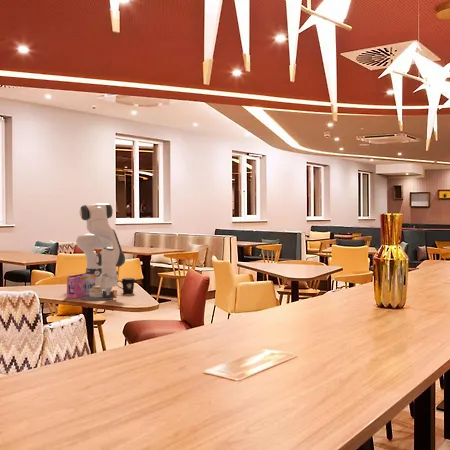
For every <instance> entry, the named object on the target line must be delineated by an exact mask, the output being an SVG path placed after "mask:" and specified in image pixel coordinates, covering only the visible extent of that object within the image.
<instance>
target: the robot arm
mask: <svg viewBox="0 0 450 450" xmlns="http://www.w3.org/2000/svg"><path fill="white" fill-rule="evenodd" d="M113 213H114V209H113V207H112V205H111V204H110V203H93V204H91V203H90V204H83V205H82V206H80V209H79V216H80V219H82V220H83V221H86V230H87V231H88V232H89V233H83V234H78V236H77V238H76V241H75V243H76V246H77V247H78V248H79V249H80V250H81V251H82V252H83V253H84V256H85V258H86V268H85V273H92V274H95V286H100V289H102V290H105V289H106V295H110V294H111V291H113V290H112V289H113V287H114V288H115V287H118V286H117V285H118V284H119V283H118V281H119V280H118V279H119V271H118V270H117V268H118V267H119V268H120V267H121V266H123V265H124V264H125V262H126V256H125V253H124V252H123V250H122V246H121V244H120V241H119V237H118V235H117V232H116V230H115V229H114V228H112V227H111V225H110V224H109V220H108V219H110V218H112V217H113ZM95 250H102V251H99V252H98V253H96V252H95Z"/></svg>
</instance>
